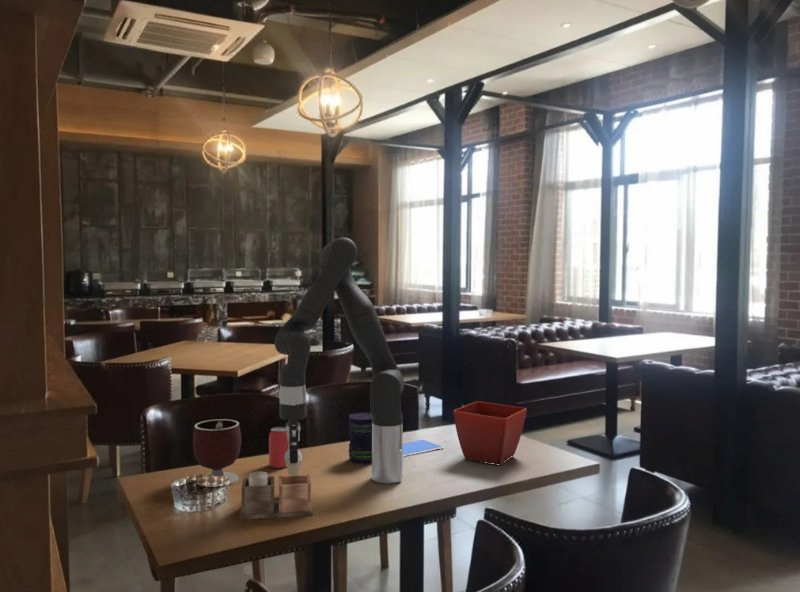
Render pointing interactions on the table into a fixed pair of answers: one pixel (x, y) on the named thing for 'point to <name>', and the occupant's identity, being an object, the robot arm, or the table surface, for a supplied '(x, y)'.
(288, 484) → the condiment caddy
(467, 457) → the plant pot
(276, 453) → the beer can
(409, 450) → the tablet computer
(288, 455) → the ice cream cone
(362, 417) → the storage jar
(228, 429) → the mate gourd
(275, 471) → the table surface
